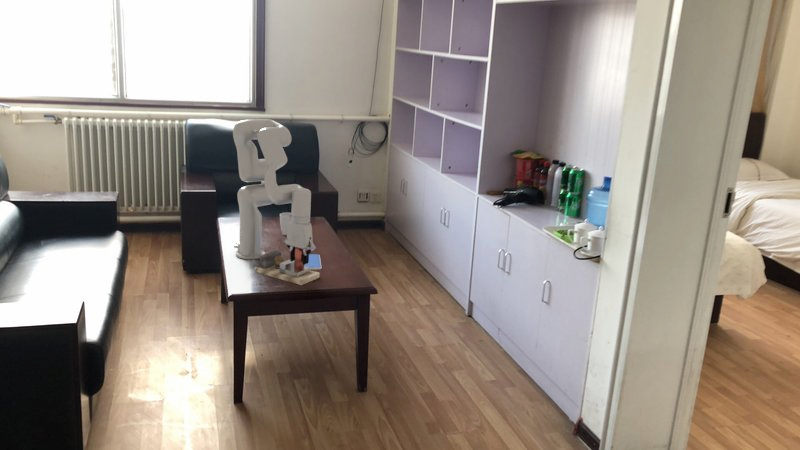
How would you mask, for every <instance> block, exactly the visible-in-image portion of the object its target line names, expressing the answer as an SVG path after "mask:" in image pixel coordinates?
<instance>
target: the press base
mask: <svg viewBox="0 0 800 450" xmlns="http://www.w3.org/2000/svg"><path fill="white" fill-rule="evenodd" d="M284 261H285V259H284V257H283V256H282V251H278V250H273V251H270V252H267V253H265V254H264V255H261V256H260V258H259V267H256V272H257V273H259V274H260V275H265V276H269V277H272V278H275V279H279V280H282V281H285V282H288V283H293V284H297V285H299V286H303V285H305V284H307V283H310V282H312V281H314V280H315V281H316V280H318V279H319V278H320V274H321V273H320V272H318V271H316V270H311V271H310V272H307V273H305V274H303V275H300V276H298V277H296V276H292V275H289V274H285V273H282V272H279V271H280V263H282V262H284Z"/></svg>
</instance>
